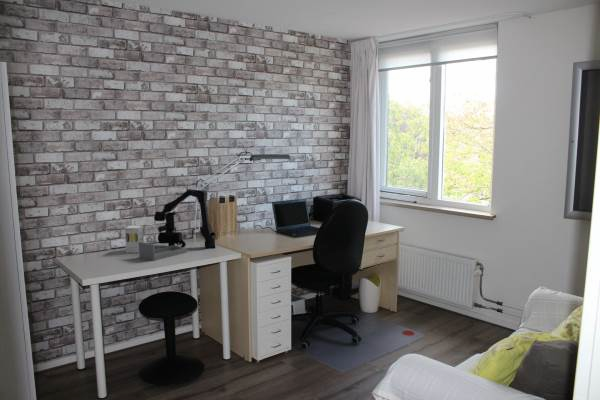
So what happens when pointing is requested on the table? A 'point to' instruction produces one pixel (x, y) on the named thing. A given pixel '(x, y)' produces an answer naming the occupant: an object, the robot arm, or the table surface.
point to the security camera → (176, 239)
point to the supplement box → (133, 238)
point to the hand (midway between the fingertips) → (171, 243)
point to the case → (158, 251)
